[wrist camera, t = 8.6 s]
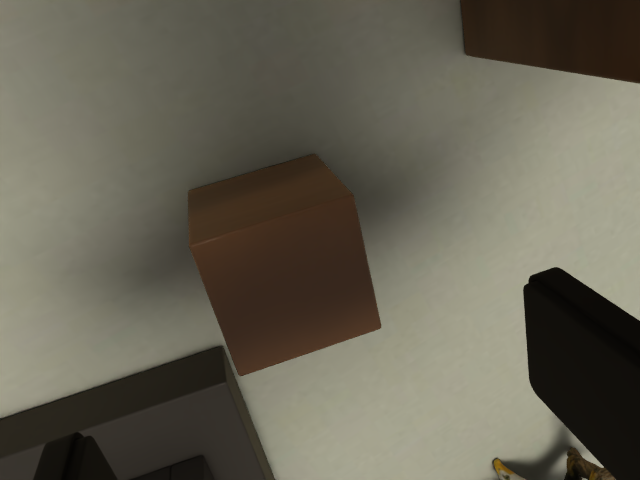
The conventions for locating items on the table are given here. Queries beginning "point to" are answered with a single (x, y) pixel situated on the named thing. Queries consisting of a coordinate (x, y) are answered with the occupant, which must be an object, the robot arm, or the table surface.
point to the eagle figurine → (575, 469)
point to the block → (282, 262)
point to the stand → (557, 35)
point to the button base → (150, 426)
